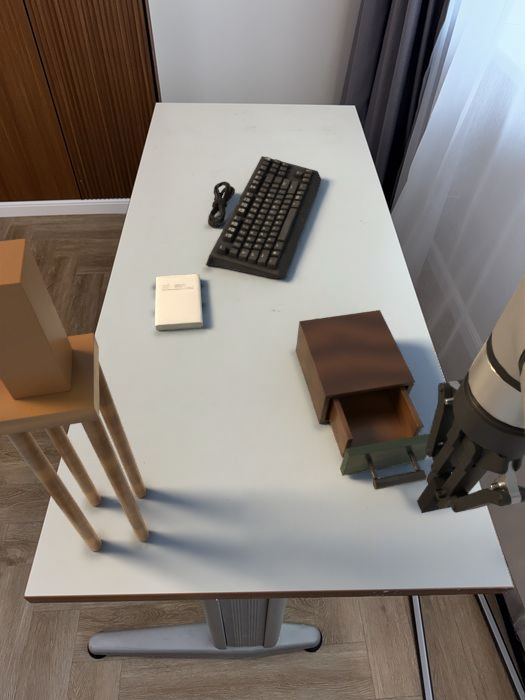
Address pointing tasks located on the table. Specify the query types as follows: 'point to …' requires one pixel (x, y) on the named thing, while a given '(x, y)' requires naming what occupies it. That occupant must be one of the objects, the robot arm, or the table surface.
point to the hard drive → (178, 302)
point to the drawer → (378, 434)
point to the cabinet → (349, 358)
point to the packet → (30, 328)
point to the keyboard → (264, 219)
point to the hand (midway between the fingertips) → (429, 504)
